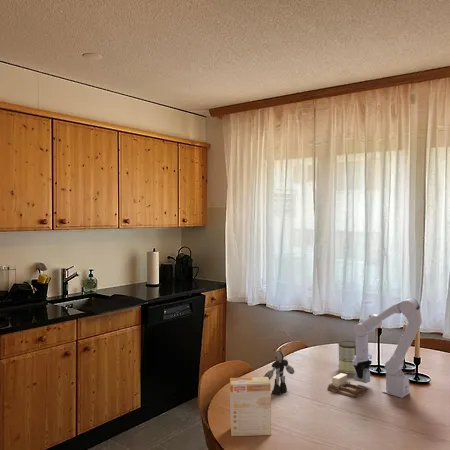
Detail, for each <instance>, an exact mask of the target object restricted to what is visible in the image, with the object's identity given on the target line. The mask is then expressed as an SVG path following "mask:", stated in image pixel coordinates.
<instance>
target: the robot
mask: <svg viewBox="0 0 450 450" xmlns="http://www.w3.org/2000/svg"><path fill="white" fill-rule="evenodd" d="M273 352H274V362H273V363H272V364H271V368H272V369H271V370H268V371H267V372H265V374H264V375H263V377H268V378H269V381H271V379H272V378H273V377H274V374H275V378H274V385H273V389H272V390H271V394H272V395H274V396H281V394H286V393H287V392H288V388H287V384H286V376H285V375H284V370H285V371H286V372H287V373H288V374H290V375H293V374H295V369H294V367H293V366H292V365H290V364H289V361H288V360H287V359H284V358H285V357H286V355H285V353H283V351H282V348H281V347H280V348H279V350H278V351H276V350H275V349H273ZM274 372H275V373H274ZM279 383H280V384H279Z"/></svg>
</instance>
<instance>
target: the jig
mask: <svg viewBox="0 0 450 450" xmlns="http://www.w3.org/2000/svg"><path fill="white" fill-rule="evenodd" d="M327 391H331V392H333V393H338V394H341V395H344V396H347V397H351V398H353V399H355V398H357V397H359V396H361V395H363V394H364V393H366V392H368V388H365V387H363V386H359V385H357V384H353V383H351V382H350V381H349V380H347V383H345V384H343V385H341V386H339V387H336V386H333V385H332V382H331V383H329V384H328V386H327Z"/></svg>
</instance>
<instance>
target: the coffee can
mask: <svg viewBox="0 0 450 450" xmlns="http://www.w3.org/2000/svg"><path fill="white" fill-rule="evenodd" d="M337 345H338V370H339V371H340V373H343V374H354V370H355V367H354V366H353V365H352V360H354V359H355V358H354V356H356V341H353V340H341V341H338V343H337Z"/></svg>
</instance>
